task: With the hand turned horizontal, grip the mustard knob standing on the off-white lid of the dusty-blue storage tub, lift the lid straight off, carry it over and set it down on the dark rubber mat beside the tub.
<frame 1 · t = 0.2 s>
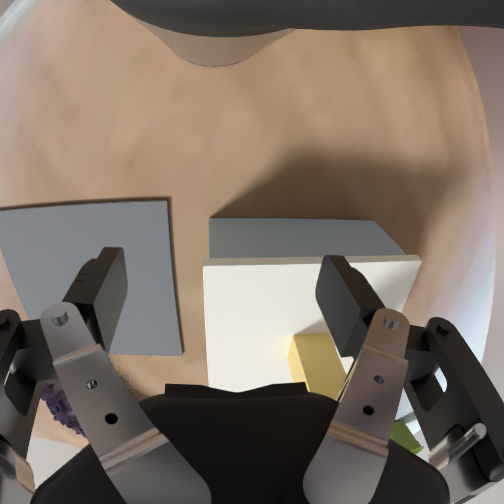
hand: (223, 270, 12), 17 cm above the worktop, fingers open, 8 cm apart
geode: (90, 390, 43), on the worktop
mat: (86, 290, 32), on the worktop
tub: (287, 288, 36), on the worktop
lid: (304, 338, 29), point 8 cm above the worktop, touching tub
plant pot: (391, 425, 69), on the worktop
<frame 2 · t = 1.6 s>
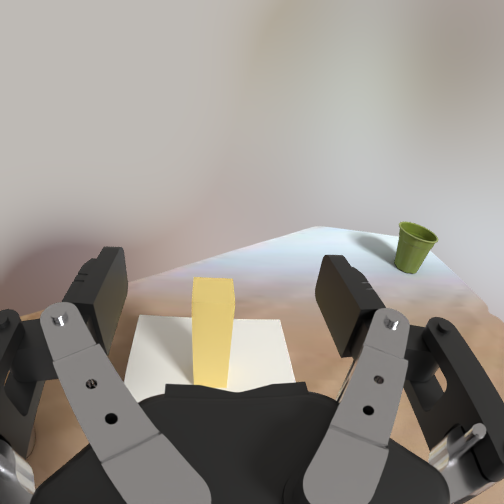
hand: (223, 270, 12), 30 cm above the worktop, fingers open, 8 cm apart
lid: (209, 380, 32), point 8 cm above the worktop, touching tub
plant pot: (405, 267, 77), on the worktop
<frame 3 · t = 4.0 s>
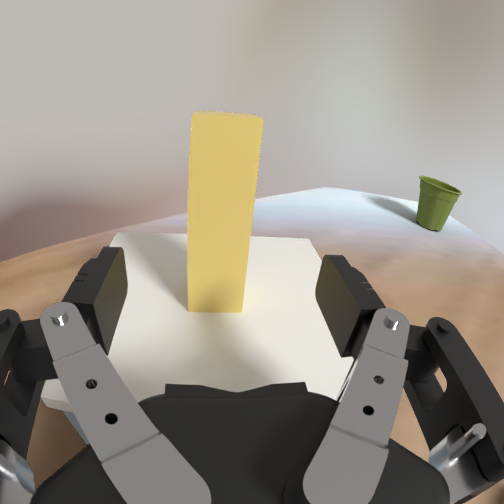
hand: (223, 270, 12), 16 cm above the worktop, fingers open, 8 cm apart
lid: (214, 307, 21), point 8 cm above the worktop, touching tub
plant pot: (428, 226, 67), on the worktop
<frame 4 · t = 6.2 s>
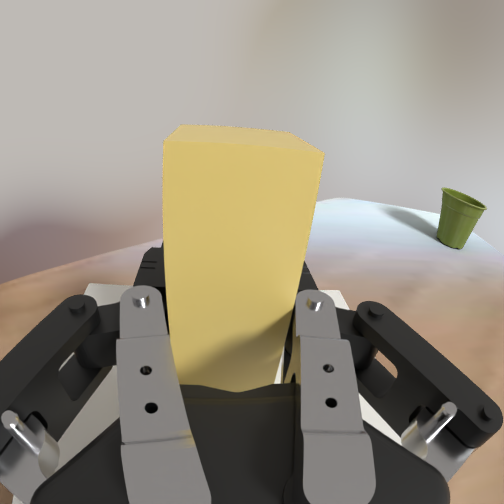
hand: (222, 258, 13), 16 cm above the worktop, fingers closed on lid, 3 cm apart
lid: (219, 413, 14), point 8 cm above the worktop, touching gripper, tub
plant pot: (449, 243, 59), on the worktop
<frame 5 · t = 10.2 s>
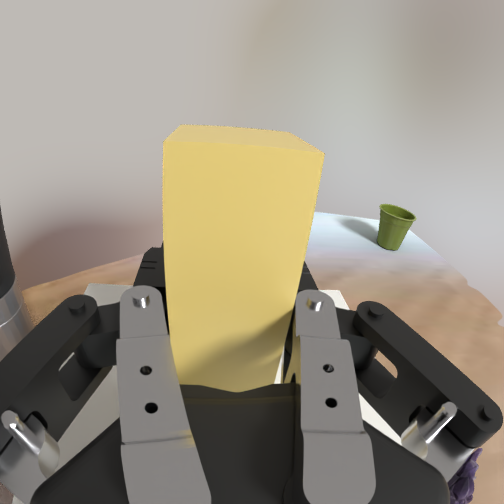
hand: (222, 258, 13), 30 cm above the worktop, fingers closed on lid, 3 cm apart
lid: (219, 412, 14), point 22 cm above the worktop, touching gripper
plant pot: (387, 245, 87), on the worktop
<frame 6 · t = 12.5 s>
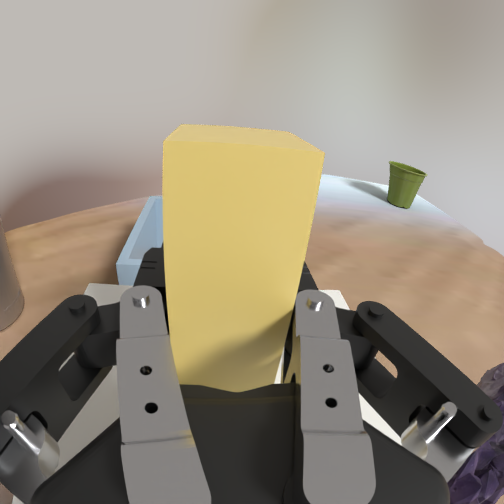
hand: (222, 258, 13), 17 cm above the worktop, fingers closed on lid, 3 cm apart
geode: (464, 469, 17), on the worktop
tub: (209, 281, 39), on the worktop
lid: (219, 412, 14), point 9 cm above the worktop, touching gripper
plant pot: (398, 204, 81), on the worktop
when the fingers open (9 cm above the worktop, at t = 14.3 s): lid drops 1 cm, resting on mat.
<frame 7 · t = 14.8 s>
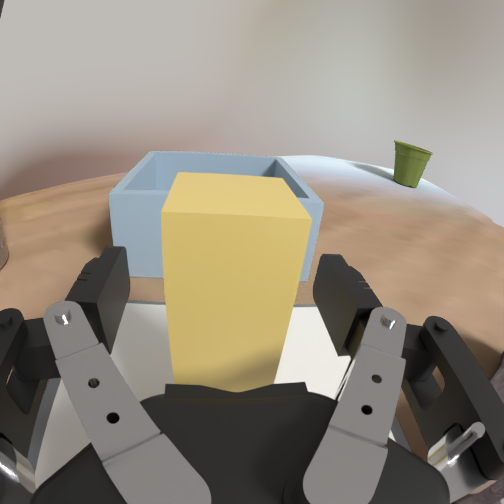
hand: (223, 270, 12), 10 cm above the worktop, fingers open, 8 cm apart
mat: (218, 429, 15), on the worktop
tub: (212, 235, 36), on the worktop
lid: (218, 427, 15), resting on mat
plant pot: (405, 184, 77), on the worktop
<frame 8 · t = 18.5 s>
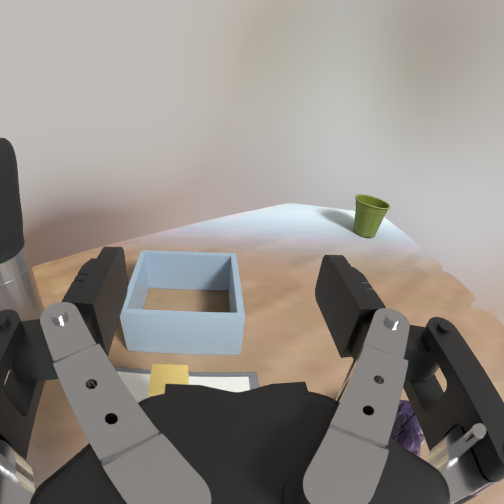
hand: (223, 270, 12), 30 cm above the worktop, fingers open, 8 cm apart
geode: (352, 463, 30), on the worktop
mat: (179, 438, 32), on the worktop
tub: (185, 316, 53), on the worktop
lid: (179, 437, 32), resting on mat
plant pot: (364, 233, 94), on the worktop
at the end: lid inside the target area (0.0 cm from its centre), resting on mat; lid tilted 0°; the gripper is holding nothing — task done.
